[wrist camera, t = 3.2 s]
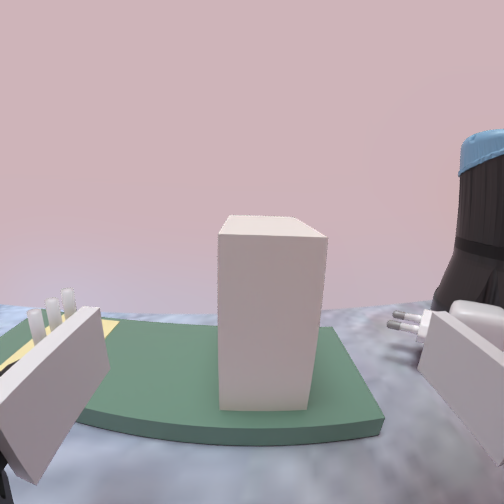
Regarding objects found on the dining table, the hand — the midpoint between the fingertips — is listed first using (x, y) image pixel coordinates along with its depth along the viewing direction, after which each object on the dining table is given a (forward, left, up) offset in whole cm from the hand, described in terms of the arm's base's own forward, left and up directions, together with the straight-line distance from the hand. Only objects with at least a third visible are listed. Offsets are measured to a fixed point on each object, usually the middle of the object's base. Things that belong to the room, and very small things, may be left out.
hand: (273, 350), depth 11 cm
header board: (+8, -9, -8) cm, 14 cm away
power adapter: (-16, -9, -8) cm, 20 cm away
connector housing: (0, -9, -6) cm, 11 cm away
